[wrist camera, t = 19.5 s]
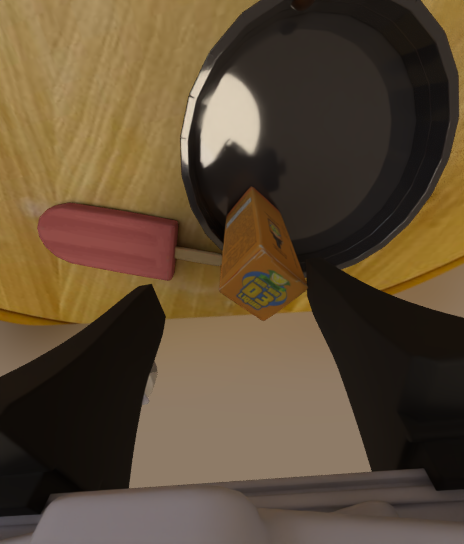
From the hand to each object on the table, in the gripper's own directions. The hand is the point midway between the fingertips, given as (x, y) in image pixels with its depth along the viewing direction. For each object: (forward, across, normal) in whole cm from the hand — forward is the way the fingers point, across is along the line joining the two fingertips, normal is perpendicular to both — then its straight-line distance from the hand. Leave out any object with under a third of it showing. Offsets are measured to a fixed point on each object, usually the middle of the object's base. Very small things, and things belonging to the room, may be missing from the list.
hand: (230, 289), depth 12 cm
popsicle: (+10, +8, +1) cm, 13 cm away
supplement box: (+10, -2, 0) cm, 10 cm away
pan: (+10, -6, -3) cm, 12 cm away
